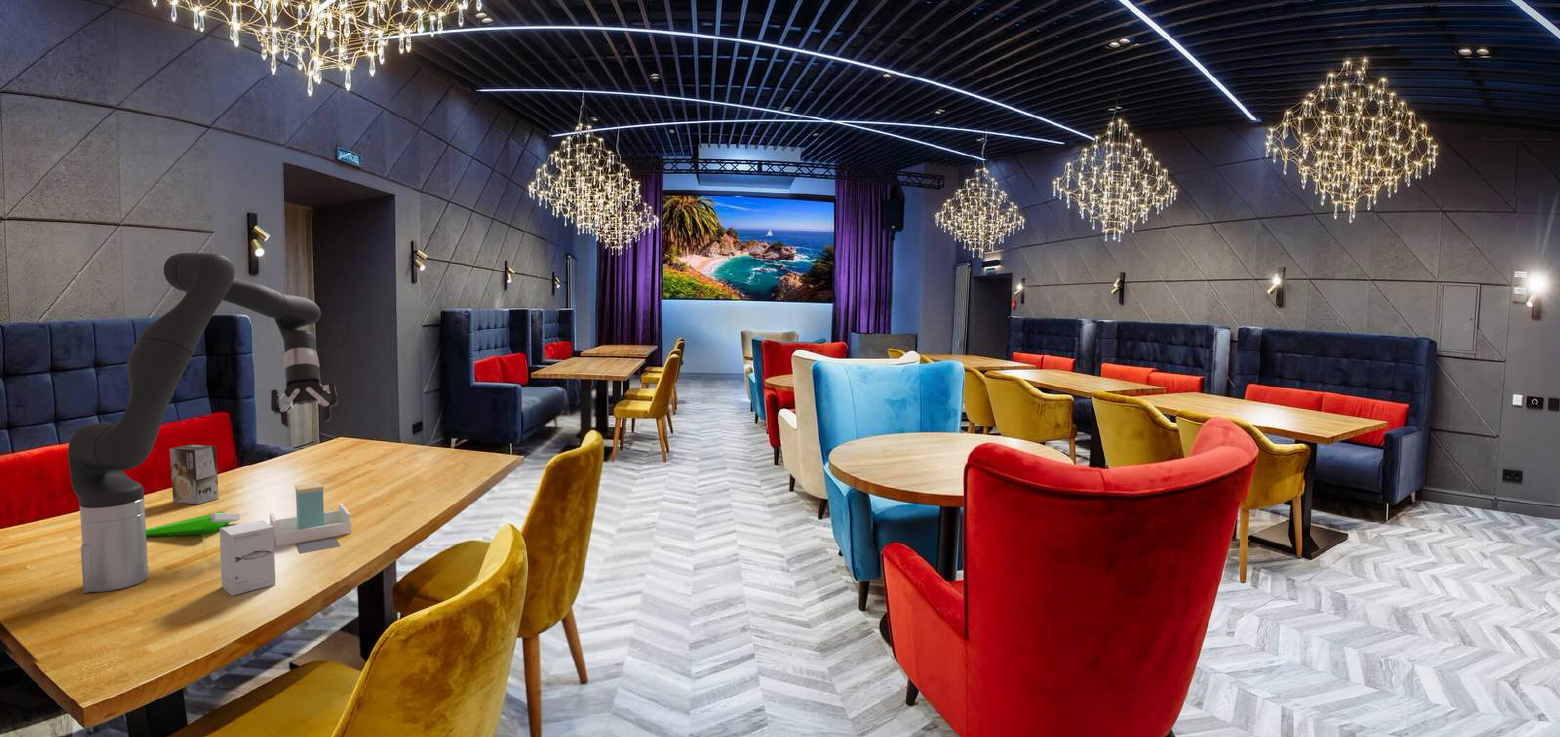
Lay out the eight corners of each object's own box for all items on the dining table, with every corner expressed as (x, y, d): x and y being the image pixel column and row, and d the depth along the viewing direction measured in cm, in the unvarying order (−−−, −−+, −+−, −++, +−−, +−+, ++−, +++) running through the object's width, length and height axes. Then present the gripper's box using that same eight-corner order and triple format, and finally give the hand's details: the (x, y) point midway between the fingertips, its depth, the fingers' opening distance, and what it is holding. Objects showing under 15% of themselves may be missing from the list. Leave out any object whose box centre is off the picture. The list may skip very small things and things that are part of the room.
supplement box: (231, 597, 130) (228, 535, 129) (221, 587, 134) (218, 527, 133) (276, 585, 136) (274, 526, 135) (265, 576, 140) (263, 518, 139)
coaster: (299, 555, 151) (299, 553, 151) (295, 546, 157) (295, 543, 157) (340, 548, 157) (340, 545, 157) (334, 539, 163) (334, 536, 163)
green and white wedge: (91, 554, 154) (214, 532, 160) (90, 531, 155) (213, 510, 161) (126, 551, 165) (241, 530, 171) (126, 530, 166) (240, 510, 172)
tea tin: (299, 537, 162) (297, 489, 161) (296, 531, 166) (295, 485, 165) (324, 532, 165) (323, 486, 164) (321, 527, 169) (320, 482, 168)
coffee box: (220, 498, 193) (217, 445, 192) (197, 505, 187) (195, 449, 186) (194, 496, 195) (191, 443, 194) (171, 502, 189) (168, 448, 187)
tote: (276, 548, 156) (275, 526, 155) (270, 534, 165) (269, 512, 165) (351, 535, 166) (350, 514, 165) (341, 522, 176) (341, 502, 175)
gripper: (265, 365, 170) (270, 423, 165) (331, 359, 177) (337, 414, 172) (272, 377, 176) (277, 433, 171) (335, 370, 183) (341, 424, 178)
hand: (307, 423), depth 171 cm, fingers open, 8 cm apart
